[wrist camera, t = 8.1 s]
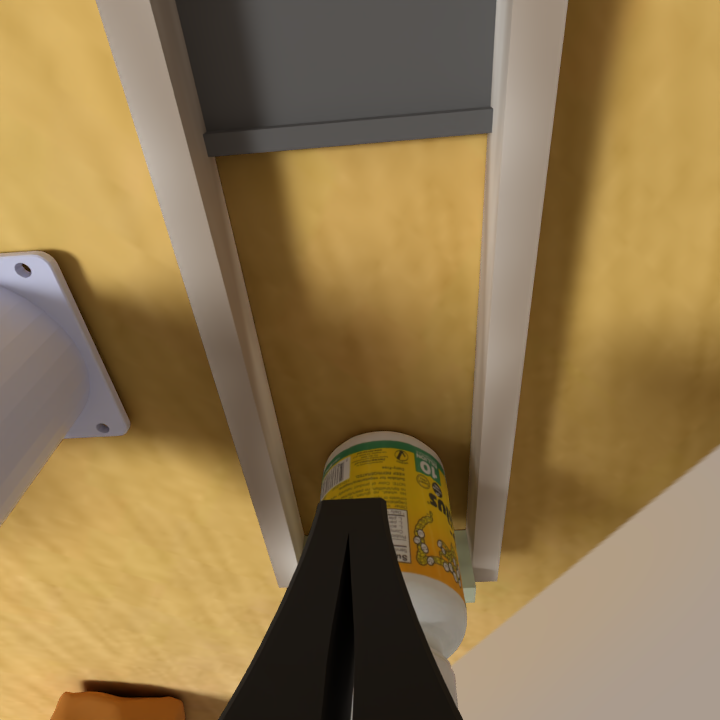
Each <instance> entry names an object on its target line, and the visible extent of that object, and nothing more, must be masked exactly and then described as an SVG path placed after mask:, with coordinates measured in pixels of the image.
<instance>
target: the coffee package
mask: <svg viewBox="0 0 720 720" xmlns="http://www.w3.org/2000/svg"><path fill="white" fill-rule="evenodd" d="M50 720H185V712H184V705H183V702H182V701H181V700H179V699H176V698H173V697H169V696H166V697H161V698H160V697H118V696H114V695H111V694H107V693H102V692H90V691H88V692H80V693H70V692H65V693H63V695H62V696H61V697H60V699H59V701H58V704H57V706H56V709H55V711H54V713H53V715H52V717H51V719H50Z"/></svg>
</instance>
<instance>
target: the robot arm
mask: <svg viewBox="0 0 720 720" xmlns="http://www.w3.org/2000/svg"><path fill="white" fill-rule="evenodd" d="M22 263H24V264H25V265H27V266H28V267H29V268H30V269H31V272H28V271H27V270H25V269H24V268H23V266H22ZM103 424H105V425H107V426H105V425H103ZM130 425H131V424H130V420H129V418H128V416H127V414H126V412H125V410H124V407H123V405H122V403H121V401H120V399H119V396H118V394H117V392H116V390H115V388H114V386H113V383H112V381H111V379H110V377H109V375H108V372H107V370H106V368H105V366H104V364H103V362H102V359H101V357H100V355H99V353H98V351H97V348H96V346H95V344H94V342H93V340H92V338H91V335H90V333H89V331H88V329H87V327H86V324H85V322H84V320H83V318H82V316H81V314H80V311H79V309H78V307H77V305H76V303H75V300H74V298H73V296H72V294H71V292H70V290H69V287H68V285H67V283H66V281H65V279H64V276H63V274H62V272H61V270H60V268H59V266H58V264H57V262H56V261H55V259H54V258H53V257H52V256H50V255H49V254H47V253H45V252H43V251H27V252H13V253H0V527H1V525H2V524H3V522H4V521H5V520H6V518H7V517H8V515H9V514H10V513H11V511H12V510H13V508H14V507H15V506H16V504H17V503H18V501H19V500H20V499H21V497H22V496H23V494H24V493H25V491H26V490H27V489H28V487H29V486H30V484H31V483H32V482H33V480H34V479H35V477H36V476H37V475H38V473H39V472H40V470H41V469H42V468H43V466H44V465H45V463H46V462H47V461H48V459H49V458H50V456H51V455H52V454H53V452H54V451H55V449H56V448H57V446H58V445H59V444H60V442H61V441H62V439H66V438H86V437H106V436H121V435H124V434H126V433H127V431H128V429H129V428H130ZM353 688H354V690H353ZM352 700H353V713H352V720H463V719H462V716H461V715H460V712H459V710H458V708H457V706H456V704H455V702H454V700H453V698H452V696H451V694H450V692H449V689H448V687H447V685H446V683H445V681H444V679H443V677H442V674H441V672H440V670H439V668H438V665H437V663H436V661H435V659H434V656H433V654H432V652H431V649H430V647H429V644H428V642H427V640H426V637H425V635H424V632H423V630H422V627H421V625H420V622H419V620H418V617H417V615H416V612H415V609H414V607H413V604H412V601H411V598H410V595H409V593H408V590H407V587H406V584H405V581H404V578H403V575H402V572H401V569H400V566H399V563H398V559H397V556H396V552H395V548H394V544H393V541H392V536H391V532H390V527H389V522H388V515H387V504H386V500H384V499H383V498H381V497H377V498H355V499H333V500H322V501H321V502H320V503H319V504H318V506H317V510H316V514H315V517H314V520H313V524H312V527H311V530H310V533H309V536H308V538H307V541H306V544H305V547H304V549H303V552H302V554H301V557H300V560H299V562H298V565H297V567H296V569H295V572H294V574H293V576H292V579H291V581H290V583H289V586H288V588H287V590H286V593H285V595H284V597H283V599H282V602H281V604H280V606H279V608H278V610H277V612H276V614H275V616H274V618H273V620H272V622H271V624H270V626H269V628H268V630H267V632H266V634H265V637H264V639H263V641H262V643H261V645H260V647H259V649H258V650H257V652H256V654H255V656H254V658H253V660H252V662H251V664H250V665H249V667H248V669H247V671H246V673H245V675H244V676H243V678H242V680H241V682H240V684H239V685H238V687H237V689H236V690H235V692H234V694H233V696H232V697H231V699H230V701H229V703H228V704H227V706H226V708H225V709H224V711H223V713H222V714H221V716H220V718H219V719H218V720H351V711H352Z"/></svg>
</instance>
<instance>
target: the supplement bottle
mask: <svg viewBox="0 0 720 720" xmlns="http://www.w3.org/2000/svg"><path fill="white" fill-rule="evenodd" d="M377 497H381V498H383V499H384V500H386V504H387V515H388V522H389V527H390V532H391V536H392V541H393V544H394V548H395V552H396V556H397V559H398V563H399V566H400V569H401V572H402V575H403V578H404V581H405V584H406V587H407V590H408V593H409V595H410V598H411V601H412V604H413V607H414V609H415V612H416V615H417V617H418V620H419V622H420V625H421V627H422V630H423V632H424V635H425V637H426V640H427V642H428V644H429V647H430V649H431V652H432V654H433V656H434V659H435V661H436V663H437V665H438V668H439V670H440V672H441V674H442V677H443V679H444V681H445V683H446V685H447V687H448V689H449V692H450V694H451V696H452V698H453V700H454V702H455V704H456V706H457V708H458V703H457V693H456V680H455V674H454V672H453V670H452V669H451V665H450V663H449V661H448V660H447V658H449V657H450V656H451V655H452V654H453V653H454V652H455V651H456V650H457V648H458V647H459V645H460V644H461V642H462V640H463V637H464V635H465V631H466V626H467V612H466V603H465V598H464V592H463V586H462V580H461V574H460V568H459V562H458V554H457V549H456V541H455V534H454V529H453V523H452V514H451V508H450V502H449V496H448V489H447V482H446V477H445V471H444V467H443V465H442V462H441V460H440V458H439V457H438V455H437V454H436V453H435V452H434V451H433V450H432V449H431V448H430V447H428V446H427V445H425V444H424V443H422V442H421V441H419V440H418V439H416V438H414V437H412V436H409V435H406V434H403V433H398V432H392V431H377V432H370V433H365V434H361V435H357V436H355V437H353V438H350V439H349V440H347V441H345V442H344V443H342V444H341V445H340V446H338V447H337V448H336V449H335V450H334V451H333V452H332V454H331V455H330V456H329V458H328V460H327V462H326V464H325V467H324V472H323V478H322V486H321V496H320V502H321V501H322V500H333V499H355V498H377ZM353 690H354V688H353ZM352 713H353V700H352V711H351V720H352Z"/></svg>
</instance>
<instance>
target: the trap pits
mask: <svg viewBox="0 0 720 720" xmlns="http://www.w3.org/2000/svg"><path fill="white" fill-rule="evenodd" d="M496 1H497V0H175V2H176V6H177V10H178V15H179V19H180V23H181V27H182V31H183V35H184V40H185V44H186V48H187V52H188V56H189V61H190V65H191V69H192V73H193V77H194V81H195V86H196V90H197V94H198V98H199V102H200V106H201V111H202V115H203V119H204V123H205V127H206V132H205V133H204V134H203V138H204V142H205V146H206V150H207V154H208V157H215V156H226V155H238V154H250V153H261V152H273V151H285V150H296V149H308V148H320V147H331V146H343V145H355V144H366V143H378V142H390V141H401V140H413V139H425V138H436V137H448V136H460V135H472V134H483V133H492V124H493V108H492V107H491V89H492V72H493V54H494V36H495V19H496Z"/></svg>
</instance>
